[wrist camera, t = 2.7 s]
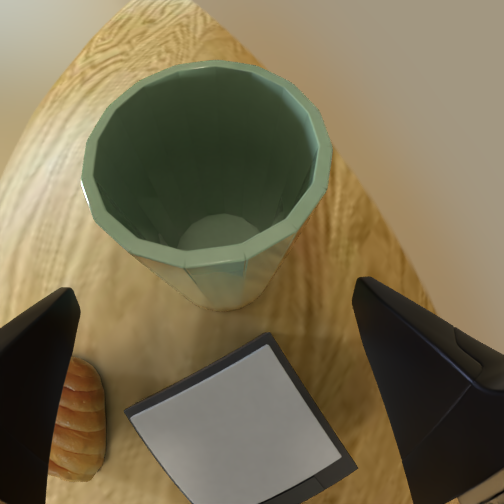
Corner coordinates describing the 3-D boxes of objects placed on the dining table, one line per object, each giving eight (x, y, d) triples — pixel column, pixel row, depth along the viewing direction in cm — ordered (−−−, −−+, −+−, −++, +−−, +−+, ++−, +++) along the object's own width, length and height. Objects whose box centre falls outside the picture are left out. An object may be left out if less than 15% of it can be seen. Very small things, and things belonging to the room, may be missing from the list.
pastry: (51, 338, 17) (21, 337, 14) (128, 377, 17) (105, 385, 14) (34, 439, 15) (7, 451, 11) (104, 481, 15) (84, 502, 11)
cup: (292, 277, 20) (380, 182, 7) (202, 330, 18) (137, 322, 6) (240, 196, 21) (247, 41, 9) (155, 242, 20) (63, 121, 7)
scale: (345, 455, 16) (363, 473, 13) (224, 518, 15) (223, 543, 11) (265, 332, 19) (271, 331, 15) (135, 402, 17) (118, 413, 14)
